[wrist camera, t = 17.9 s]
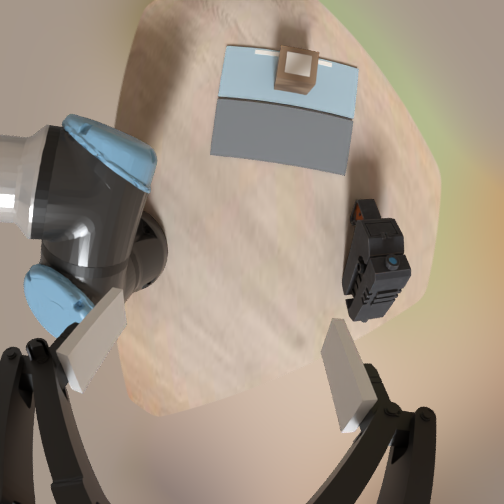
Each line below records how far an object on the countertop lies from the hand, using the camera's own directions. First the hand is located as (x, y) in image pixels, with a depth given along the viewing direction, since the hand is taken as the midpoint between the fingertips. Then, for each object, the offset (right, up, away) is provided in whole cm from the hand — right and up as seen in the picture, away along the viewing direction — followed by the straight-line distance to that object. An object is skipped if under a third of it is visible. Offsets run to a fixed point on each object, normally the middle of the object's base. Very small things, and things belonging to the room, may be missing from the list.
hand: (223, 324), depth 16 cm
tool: (+20, +4, +29) cm, 35 cm away
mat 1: (+8, +31, +19) cm, 37 cm away
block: (+8, +31, +18) cm, 37 cm away
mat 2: (+6, +22, +22) cm, 32 cm away
